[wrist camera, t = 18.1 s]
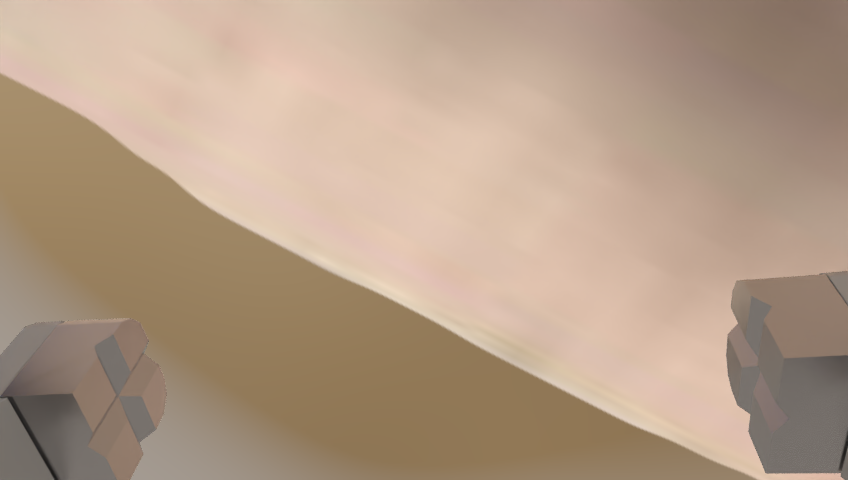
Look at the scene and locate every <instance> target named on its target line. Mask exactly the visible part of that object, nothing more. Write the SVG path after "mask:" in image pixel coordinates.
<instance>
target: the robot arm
mask: <svg viewBox="0 0 848 480" xmlns="http://www.w3.org/2000/svg"><path fill="white" fill-rule="evenodd" d="M731 308H732V311H733V313H734V315H735V317H736V319H737V322H738V324H737V325H736V326H735V327H734V328H733V329H732V331H731V332H730V333H729V334H728V339H727V353H726V357H727V368H728V377H729V381H730V385H731V389H732V392H733V394H734V397H735V400H736V402H737V405H738V406H739V407H741V408H742V409H744V410H745V411H747V412H748V413H750V414H751V415H750V423H749V431H748V432H749V434H750V437H751V439H752V441H753V444H754V446H755V449H756V451H757V453H758V456H759V458H760V461H761V463H762V465H763V468H764V470H765V473H841V477H842V478H843V479H844V480H848V271H842V272H831V273H821V274H819V275H809V276H795V277H781V278H767V279H753V280H739V281H736V283H735V286H734V289H733V293H732V301H731ZM148 342H149V340H148V338H147V336H146V334H145V331H144V329H143V327H142V325H141V323H140V322H138V321H136V320H133V319H131V318H125V319H123V318H122V319H98V320H75V321H66V322H65V321H55V322H41V323H40V322H39V323H34V324H31V325H28V326H26V327H24V329H23V330H22V331H21V332H20V333H19V334H18V335H17V337H16V338H15V339H14V340H13V341H12V342H11V343H10V345H9V346H8V347H7V348H6V349H5V350H4V351H3V353H2V354H1V355H0V480H130V479H131V477H132V475H133V473H134V471H135V469H136V467H137V466H138V464H139V462H140V460H141V458H142V456H143V451H142V448H141V445H140V441H142V440H143V439H144V438H146V437H147V436H148V435H150V434H151V433H152V432H154V431H155V430H156V429H157V427H158V425H159V423H160V421H161V419H162V416H163V414H164V409H165V403H166V396H167V392H166V385H165V379H164V376H163V373H162V371H161V368H160V366H159V365H158V364H157V363H156V362H155V361H153V360H152V359H151V358H149V357H148V356H147V355H145V354H144V352H145V350H146V347H147V345H148Z"/></svg>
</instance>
